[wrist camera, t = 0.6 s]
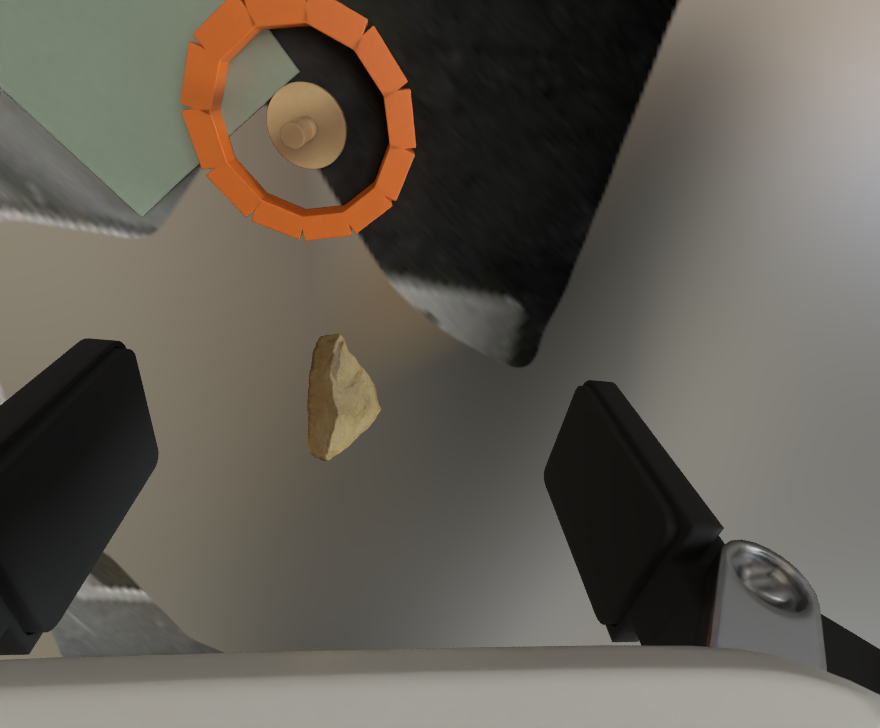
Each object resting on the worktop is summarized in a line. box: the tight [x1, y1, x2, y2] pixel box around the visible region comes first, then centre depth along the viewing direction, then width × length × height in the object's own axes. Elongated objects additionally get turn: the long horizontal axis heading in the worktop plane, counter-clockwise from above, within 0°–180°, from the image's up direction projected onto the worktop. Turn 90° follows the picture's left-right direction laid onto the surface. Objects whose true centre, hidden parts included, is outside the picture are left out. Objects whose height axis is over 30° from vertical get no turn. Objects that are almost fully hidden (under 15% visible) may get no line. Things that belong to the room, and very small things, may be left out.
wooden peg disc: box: [267, 82, 347, 169], centre depth 32 cm, size 6×6×7 cm
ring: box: [180, 0, 416, 241], centre depth 33 cm, size 16×16×2 cm
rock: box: [307, 334, 381, 461], centre depth 45 cm, size 11×9×10 cm
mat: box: [0, 0, 300, 216], centre depth 30 cm, size 18×18×1 cm
